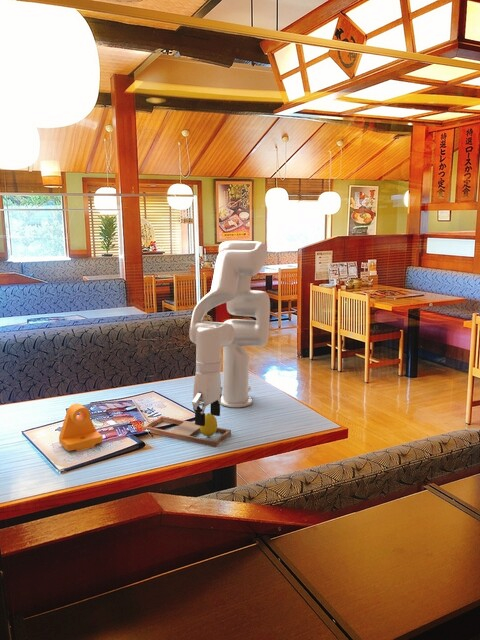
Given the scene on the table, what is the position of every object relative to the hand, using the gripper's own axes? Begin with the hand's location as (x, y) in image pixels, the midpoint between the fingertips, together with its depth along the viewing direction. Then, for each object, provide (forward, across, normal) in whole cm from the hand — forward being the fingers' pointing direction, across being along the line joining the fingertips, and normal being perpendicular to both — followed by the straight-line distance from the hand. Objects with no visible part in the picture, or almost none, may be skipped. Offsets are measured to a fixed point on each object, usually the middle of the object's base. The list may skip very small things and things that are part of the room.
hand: (207, 420), depth 159 cm
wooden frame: (+6, -1, -8) cm, 10 cm away
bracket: (+7, +21, -32) cm, 39 cm away
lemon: (+6, -1, 0) cm, 6 cm away
